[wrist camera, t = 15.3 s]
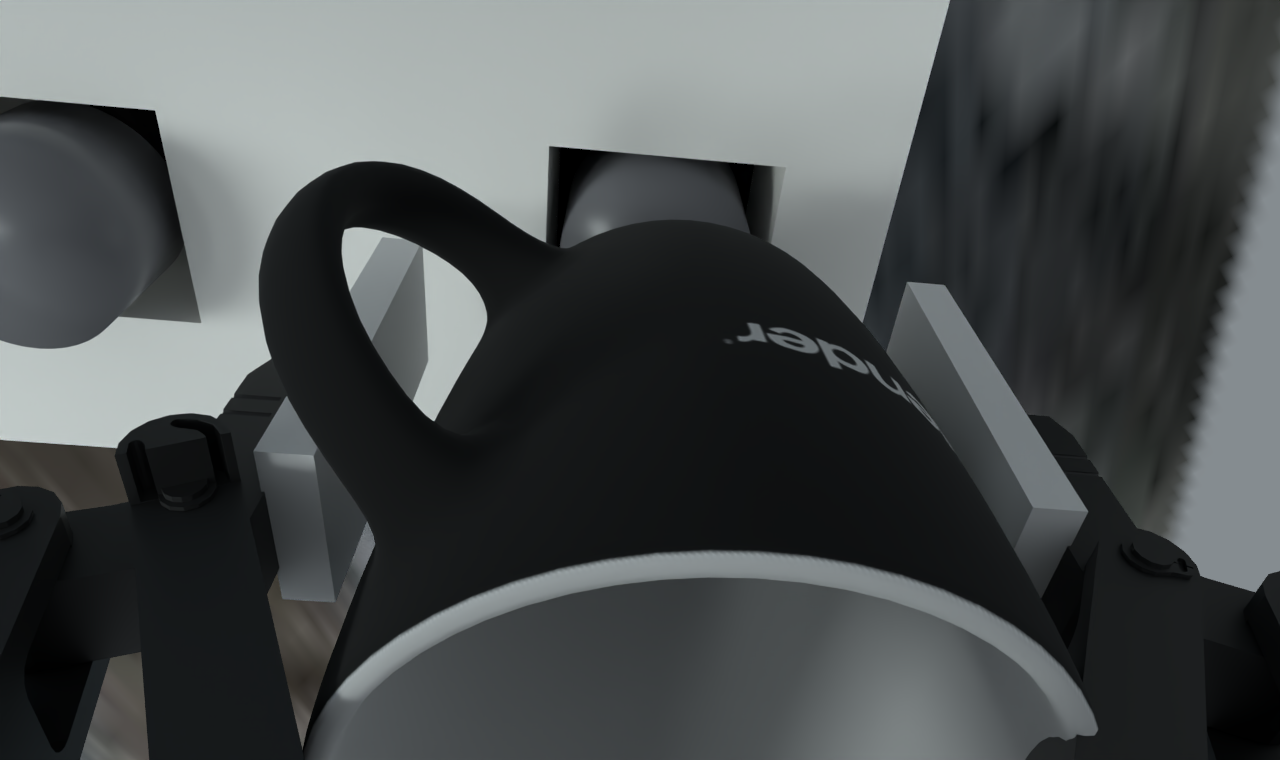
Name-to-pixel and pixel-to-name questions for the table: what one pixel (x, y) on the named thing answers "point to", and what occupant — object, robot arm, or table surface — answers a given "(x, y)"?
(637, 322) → the mug
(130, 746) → the table surface
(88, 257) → the dark grey rounded piece
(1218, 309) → the table surface
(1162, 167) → the table surface
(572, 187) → the grey dome
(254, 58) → the white rectangular box
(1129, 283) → the table surface
